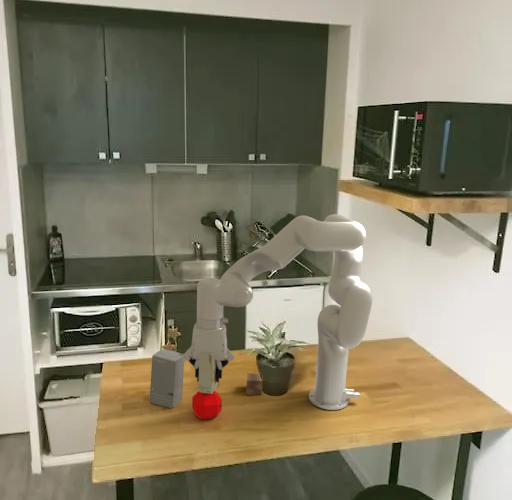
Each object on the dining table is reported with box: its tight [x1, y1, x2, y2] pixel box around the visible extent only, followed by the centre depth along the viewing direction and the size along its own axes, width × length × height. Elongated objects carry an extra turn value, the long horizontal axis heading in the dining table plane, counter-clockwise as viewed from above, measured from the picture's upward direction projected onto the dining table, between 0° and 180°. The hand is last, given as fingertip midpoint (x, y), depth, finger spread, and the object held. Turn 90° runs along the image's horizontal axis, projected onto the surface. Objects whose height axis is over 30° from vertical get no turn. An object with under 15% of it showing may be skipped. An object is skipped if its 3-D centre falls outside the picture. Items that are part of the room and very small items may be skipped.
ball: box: [191, 389, 223, 421], centre depth 155 cm, size 8×8×8 cm
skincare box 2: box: [197, 353, 219, 394], centre depth 153 cm, size 6×4×12 cm
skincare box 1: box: [149, 348, 186, 409], centre depth 161 cm, size 8×7×16 cm
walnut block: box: [245, 372, 263, 396], centre depth 171 cm, size 5×5×5 cm
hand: (208, 379), depth 154 cm, fingers closed on skincare box 2, 5 cm apart
